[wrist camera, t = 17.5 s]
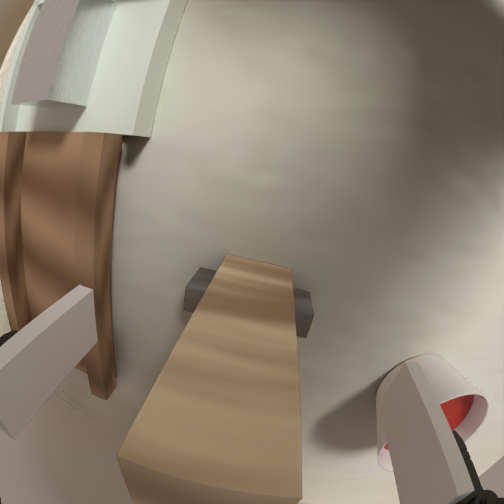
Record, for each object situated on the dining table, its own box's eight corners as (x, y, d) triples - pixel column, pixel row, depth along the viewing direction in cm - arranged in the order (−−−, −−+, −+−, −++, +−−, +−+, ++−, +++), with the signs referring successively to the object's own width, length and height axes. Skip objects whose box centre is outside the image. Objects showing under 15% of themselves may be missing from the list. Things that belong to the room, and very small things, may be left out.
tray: (50, 6, 13) (35, -1, 10) (195, -21, 12) (186, -38, 10) (15, 132, 16) (-4, 132, 14) (150, 137, 16) (133, 135, 14)
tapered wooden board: (203, 248, 18) (60, 427, 4) (314, 273, 18) (364, 497, 4) (194, 304, 19) (93, 489, 6) (297, 328, 19) (305, 538, 6)
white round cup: (453, 396, 20) (477, 441, 14) (368, 429, 22) (380, 482, 16) (458, 324, 18) (498, 372, 12) (355, 366, 20) (373, 429, 13)
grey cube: (76, 13, 13) (45, -3, 9) (117, 5, 13) (88, -18, 9) (61, 58, 14) (25, 47, 10) (100, 52, 14) (65, 35, 10)
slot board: (24, 131, 16) (-1, 132, 13) (129, 135, 16) (104, 132, 13) (34, 338, 23) (17, 352, 20) (121, 379, 22) (106, 400, 19)
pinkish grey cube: (61, 58, 14) (26, 47, 10) (100, 52, 14) (65, 35, 10) (48, 108, 15) (10, 104, 11) (86, 106, 15) (47, 99, 11)
